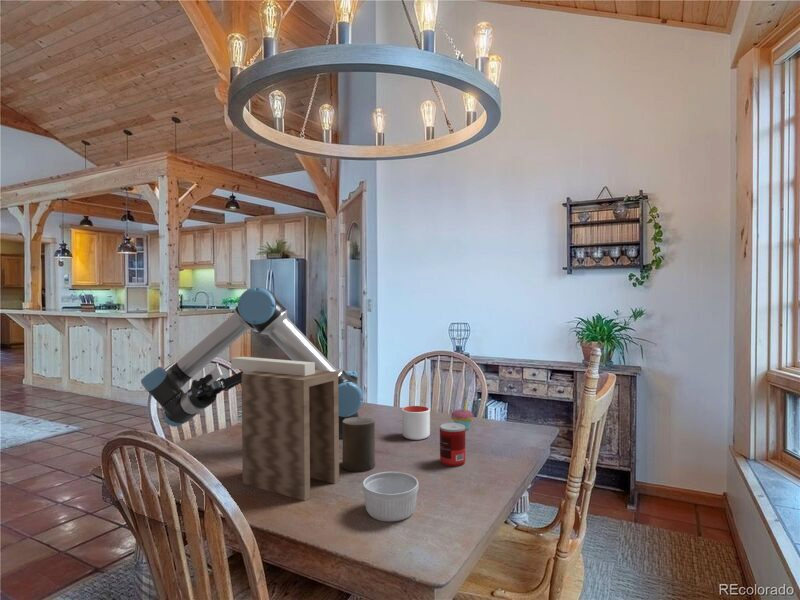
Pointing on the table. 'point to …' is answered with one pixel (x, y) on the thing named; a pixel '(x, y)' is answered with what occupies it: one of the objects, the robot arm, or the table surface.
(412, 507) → the ramekin
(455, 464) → the canned food
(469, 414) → the cupcake
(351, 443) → the pillar candle
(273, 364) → the bar
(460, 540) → the table surface
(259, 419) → the stand
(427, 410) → the cup
